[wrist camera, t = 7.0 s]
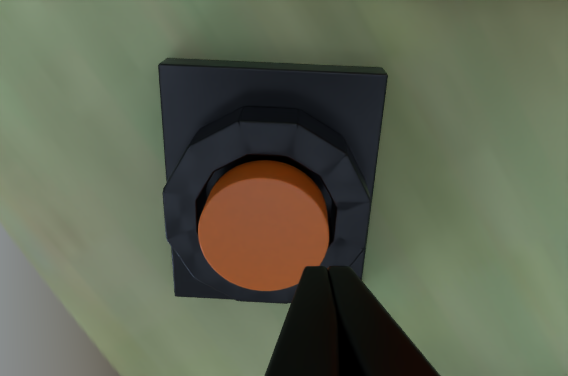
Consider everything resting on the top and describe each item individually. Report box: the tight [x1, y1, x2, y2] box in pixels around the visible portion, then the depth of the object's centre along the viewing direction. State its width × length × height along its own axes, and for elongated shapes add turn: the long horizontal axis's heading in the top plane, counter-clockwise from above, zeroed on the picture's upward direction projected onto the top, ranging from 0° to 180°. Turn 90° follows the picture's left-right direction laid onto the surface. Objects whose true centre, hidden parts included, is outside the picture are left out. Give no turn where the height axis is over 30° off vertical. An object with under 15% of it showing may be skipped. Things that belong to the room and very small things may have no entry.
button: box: [198, 160, 329, 291], centre depth 17 cm, size 4×4×2 cm
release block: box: [158, 58, 388, 304], centre depth 19 cm, size 10×8×3 cm
